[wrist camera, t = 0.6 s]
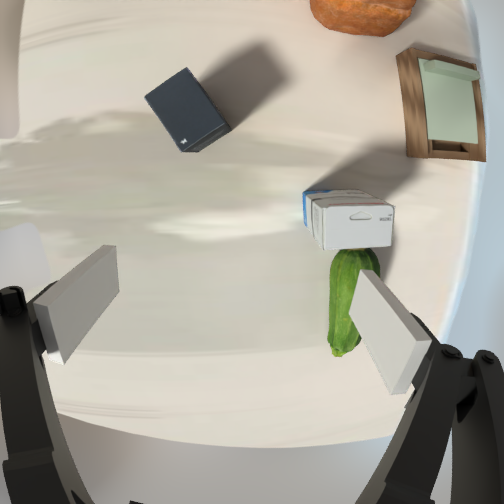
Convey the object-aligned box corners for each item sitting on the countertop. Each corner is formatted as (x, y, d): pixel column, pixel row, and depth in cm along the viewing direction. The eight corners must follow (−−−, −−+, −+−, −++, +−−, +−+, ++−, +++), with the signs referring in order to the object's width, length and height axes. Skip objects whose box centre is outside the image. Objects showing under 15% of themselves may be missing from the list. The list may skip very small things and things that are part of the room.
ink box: (303, 224, 42) (321, 252, 31) (302, 190, 40) (321, 206, 29) (359, 222, 42) (393, 247, 31) (359, 188, 40) (396, 204, 29)
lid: (415, 59, 30) (428, 53, 26) (466, 70, 30) (481, 67, 26) (425, 138, 34) (440, 139, 30) (474, 143, 34) (490, 145, 30)
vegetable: (383, 259, 35) (355, 378, 42) (385, 243, 41) (363, 352, 48) (328, 250, 38) (312, 367, 45) (338, 236, 44) (324, 343, 51)
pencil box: (395, 55, 33) (411, 47, 28) (458, 68, 33) (475, 64, 28) (407, 156, 38) (424, 158, 34) (467, 159, 38) (486, 162, 33)
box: (233, 130, 38) (226, 123, 28) (197, 153, 38) (180, 154, 29) (202, 85, 35) (186, 65, 25) (167, 108, 36) (141, 96, 26)
